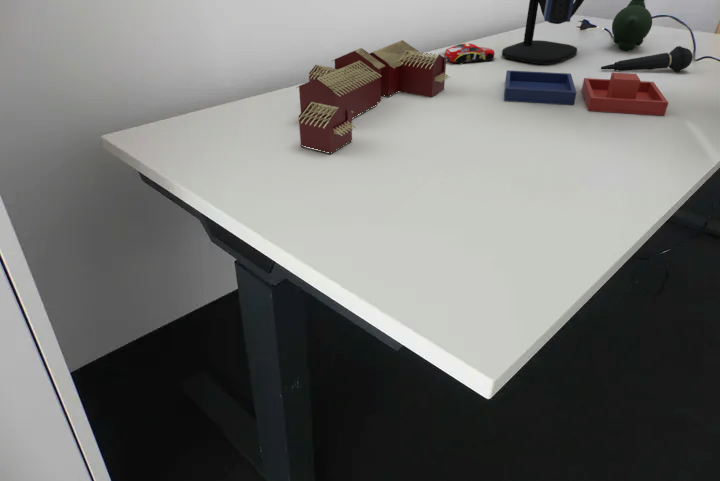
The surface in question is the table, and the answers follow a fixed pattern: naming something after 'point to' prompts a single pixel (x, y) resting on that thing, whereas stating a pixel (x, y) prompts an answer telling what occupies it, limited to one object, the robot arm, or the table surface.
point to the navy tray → (539, 87)
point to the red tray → (645, 102)
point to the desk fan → (540, 49)
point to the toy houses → (362, 89)
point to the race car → (468, 53)
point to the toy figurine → (631, 25)
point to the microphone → (656, 61)
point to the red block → (623, 86)
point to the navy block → (548, 9)
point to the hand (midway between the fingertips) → (557, 17)
